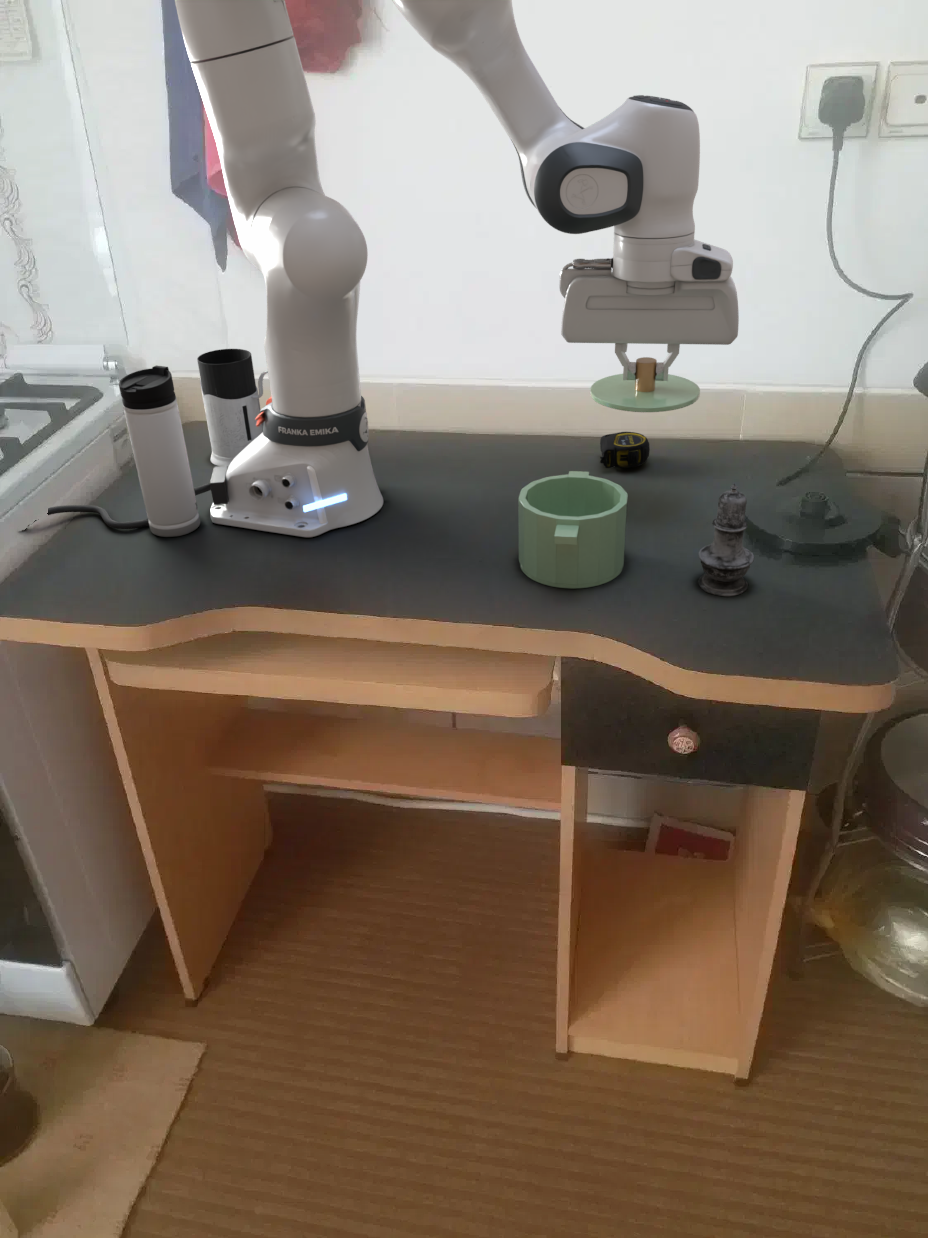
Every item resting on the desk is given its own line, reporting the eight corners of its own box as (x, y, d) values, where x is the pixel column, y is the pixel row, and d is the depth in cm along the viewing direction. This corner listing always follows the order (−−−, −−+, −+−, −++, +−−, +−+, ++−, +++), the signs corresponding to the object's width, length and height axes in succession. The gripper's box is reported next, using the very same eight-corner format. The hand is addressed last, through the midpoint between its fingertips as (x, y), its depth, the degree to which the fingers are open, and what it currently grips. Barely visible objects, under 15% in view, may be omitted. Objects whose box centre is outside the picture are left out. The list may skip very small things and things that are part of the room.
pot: (509, 597, 108) (508, 527, 104) (529, 527, 123) (529, 463, 118) (619, 604, 106) (623, 533, 102) (626, 532, 121) (630, 467, 116)
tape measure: (599, 454, 142) (600, 429, 140) (647, 454, 142) (649, 429, 140) (599, 473, 136) (600, 447, 135) (649, 473, 136) (651, 447, 134)
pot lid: (586, 415, 115) (587, 376, 112) (594, 380, 126) (595, 343, 123) (700, 418, 113) (703, 378, 110) (698, 382, 123) (701, 344, 121)
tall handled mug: (234, 442, 152) (218, 344, 144) (312, 454, 146) (300, 354, 138) (198, 462, 145) (179, 361, 137) (278, 476, 139) (263, 372, 132)
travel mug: (212, 519, 128) (184, 367, 118) (179, 541, 123) (147, 384, 113) (173, 512, 130) (142, 362, 120) (140, 533, 125) (104, 378, 115)
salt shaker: (751, 599, 106) (765, 496, 100) (695, 595, 107) (705, 494, 101) (749, 573, 111) (762, 473, 105) (695, 569, 112) (705, 471, 106)
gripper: (557, 264, 110) (555, 385, 117) (746, 264, 106) (733, 389, 113) (562, 252, 115) (561, 369, 122) (743, 252, 111) (731, 372, 119)
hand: (645, 379), depth 118 cm, fingers closed on pot lid, 2 cm apart
